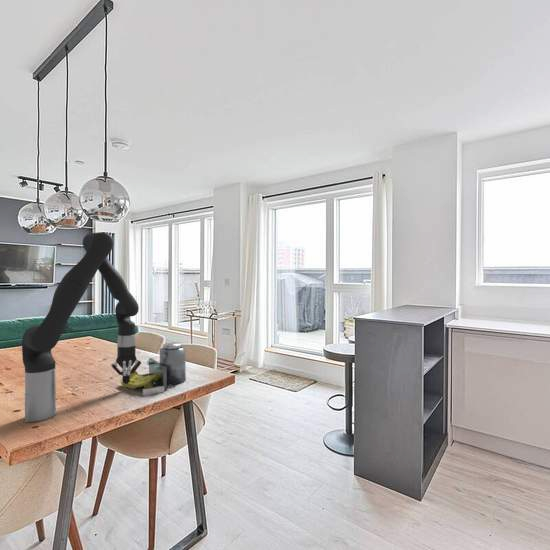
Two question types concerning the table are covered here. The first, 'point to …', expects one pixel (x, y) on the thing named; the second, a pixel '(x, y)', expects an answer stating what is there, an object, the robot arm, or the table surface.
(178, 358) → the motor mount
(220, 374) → the table surface
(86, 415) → the table surface
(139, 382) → the plastic component
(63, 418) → the table surface
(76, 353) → the table surface
